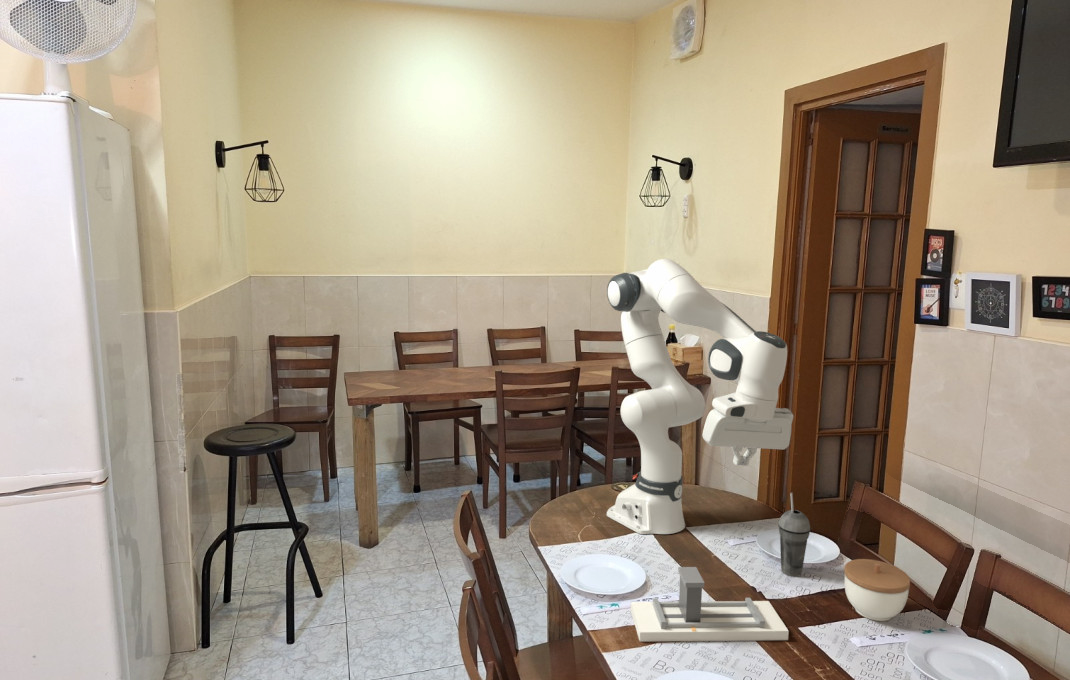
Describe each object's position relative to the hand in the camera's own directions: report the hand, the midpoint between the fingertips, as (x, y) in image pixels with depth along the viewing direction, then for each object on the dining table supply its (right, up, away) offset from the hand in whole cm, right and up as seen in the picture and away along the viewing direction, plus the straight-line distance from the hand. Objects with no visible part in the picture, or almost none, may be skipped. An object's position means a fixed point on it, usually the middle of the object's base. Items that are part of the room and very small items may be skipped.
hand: (740, 464), depth 149 cm
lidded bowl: (+27, -31, -5) cm, 42 cm away
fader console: (-10, -32, -10) cm, 35 cm away
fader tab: (-14, -29, -10) cm, 34 cm away
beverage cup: (+16, -28, +12) cm, 35 cm away
